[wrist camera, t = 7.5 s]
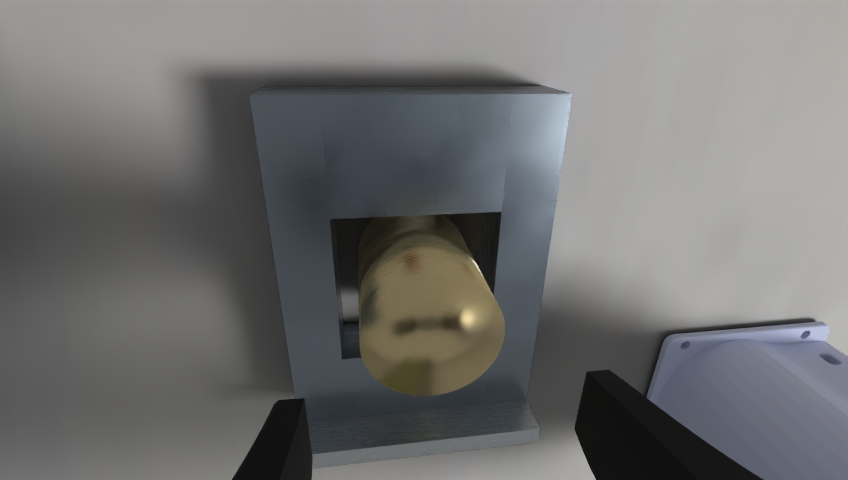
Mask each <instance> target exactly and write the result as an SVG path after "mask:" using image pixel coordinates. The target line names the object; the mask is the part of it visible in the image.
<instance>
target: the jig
mask: <svg viewBox="0 0 848 480" xmlns="http://www.w3.org/2000/svg"><path fill="white" fill-rule="evenodd" d="M249 98H250V105H251V111H252V118H253V124H254V131H255V138H256V144H257V151H258V157H259V164H260V171H261V177H262V184H263V190H264V197H265V203H266V210H267V217H268V223H269V230H270V236H271V243H272V250H273V256H274V263H275V269H276V276H277V283H278V289H279V296H280V302H281V309H282V315H283V322H284V329H285V335H286V342H287V348H288V355H289V362H290V368H291V375H292V381H293V388H294V395H295V399H298V398H304V399H305V406H306V413H307V420H308V428H309V435H310V442H311V449H312V456H313V460H312V469H313V468H321V467H330V466H338V465H347V464H355V463H364V462H372V461H381V460H390V459H398V458H407V457H415V456H424V455H432V454H441V453H449V452H458V451H467V450H475V449H484V448H492V447H501V446H509V445H518V444H526V443H535V442H538V438H539V432H540V427H539V425H538V423H537V421H536V419H535V417H534V415H533V412H532V410H531V408H530V406H529V404H528V402H527V394H528V388H529V381H530V374H531V368H532V361H533V354H534V347H535V341H536V334H537V327H538V321H539V314H540V307H541V301H542V294H543V287H544V280H545V274H546V267H547V260H548V254H549V247H550V240H551V233H552V227H553V220H554V213H555V207H556V200H557V193H558V187H559V180H560V173H561V166H562V160H563V153H564V146H565V140H566V133H567V126H568V120H569V113H570V106H571V99H572V93H568V92H564V91H561V90H557V89H554V88H550V87H547V86H291V87H263V88H261V89H259V90H258V91H256V92H254V93H253V94H251V95H249ZM462 213H482V222H481V235H480V249H479V263H478V267H479V269H480V271H481V273H482V275H483V277H484V279H485V281H486V283H487V284H488V286H489V288H490V290H491V292H492V294H493V296H494V298H495V300H496V302H497V303H498V305H499V307H500V309H501V311H502V314H503V317H504V323H505V336H504V341H503V345H502V348H501V350H500V352H499V354H498V356H497V358H496V359H495V361H494V362H493V364H492V365H491V366H490V367H489V368H488V370H487V371H485V372H484V373H483V374H482V375H481V376H480V377H479V378H477V379H476V380H475V381H473V382H471V383H470V384H468V385H466V386H464V387H462V388H460V389H458V390H455V391H452V392H449V393H445V394H440V395H434V396H414V395H407V394H403V393H399V392H397V391H394V390H391V389H389V388H388V387H386V386H384V385H383V384H381V383H380V382H378V381H377V380H376V379H375V378H374V377H373V376H372V375H371V374H370V372H369V371H368V370H367V368H366V366H365V364H364V363H363V360H362V357H361V353H360V342H359V322H355V323H343V313H342V301H341V289H340V276H339V264H338V252H337V239H336V227H335V219H346V218H369V217H393V216H416V215H439V214H462Z"/></svg>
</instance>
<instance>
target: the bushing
mask: <svg viewBox="0 0 848 480" xmlns="http://www.w3.org/2000/svg"><path fill="white" fill-rule="evenodd" d="M358 278H359V342H360V353H361V357H362V360H363V363H364V364H365V366H366V368H367V370H368V371H369V372H370V374H371V375H372V376H373V377H374V378H375V379H376V380H377V381H378V382H380V383H381V384H383V385H384V386H386V387H388V388H389V389H391V390H394V391H397V392H399V393H403V394H407V395H414V396H434V395H440V394H445V393H449V392H452V391H455V390H458V389H460V388H462V387H464V386H466V385H468V384H470V383H471V382H473V381H475V380H476V379H477V378H479V377H480V376H481V375H482V374H483V373H484V372H485V371H487V370H488V368H489V367H490V366H491V365H492V364H493V362H494V361H495V359H496V358H497V356H498V354H499V352H500V350H501V348H502V345H503V341H504V336H505V323H504V317H503V314H502V311H501V309H500V307H499V305H498V303H497V302H496V300H495V298H494V296H493V294H492V292H491V290H490V288H489V286H488V284H487V283H486V281H485V279H484V277H483V275H482V273H481V271H480V269H479V267H478V265H477V264H476V262H475V260H474V258H473V256H472V254H471V252H470V250H469V248H468V246H467V245H466V243H465V241H464V239H463V237H462V235H461V233H460V231H459V229H458V228H457V226H456V224H455V222H454V221H453V220H452V219H451V217H450V216H449V215H448V214H439V215H416V216H393V217H373V218H372V219H371V220H370V222H369V223H368V224H367V225H366V227H365V228H364V230H363V232H362V234H361V237H360V240H359V246H358Z"/></svg>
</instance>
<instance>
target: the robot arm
mask: <svg viewBox="0 0 848 480" xmlns="http://www.w3.org/2000/svg"><path fill="white" fill-rule="evenodd" d="M829 332H830V327H829V326H828V325H826V324H825V323H823V322H810V323H798V324H786V325H775V326H763V327H752V328H740V329H728V330H717V331H705V332H694V333H682V334H673V335H670V336H668V337H667V338H666V339H665V340H664V342H663V344H662V348H661V351H660V354H659V358H658V361H657V364H656V367H655V371H654V374H653V377H652V381H651V384H650V387H649V391H648V394H647V397H645V396H643V395H642V394H641V393H639V392H638V391H637V390H636V389H634V388H633V387H632V386H630V385H629V384H628V383H626V382H625V381H624V380H622V379H621V378H620V377H618V376H617V375H615V374H614V373H613V372H611V371H610V370H601V371H590V372H587V373H586V378H585V382H584V387H583V392H582V396H581V401H580V405H579V410H578V414H577V419H576V424H575V428H574V429H575V431H576V434H577V437H578V439H579V442H580V444H581V447H582V450H583V452H584V454H585V457H586V459H587V461H588V464H589V466H590V468H591V470H592V472H593V474H594V476H595V478H596V480H848V356H846V355H845V354H843V353H842V352H840V351H839V350H837V349H836V348H834V347H833V346H831V345H830V344H828V343H827V342H825V340H826V338H827V336H828V334H829ZM312 460H313V456H312V449H311V442H310V435H309V428H308V420H307V413H306V406H305V399H304V398H298V399H288V400H278V401H277V402H276V403H275V404H274V406H273V408H272V410H271V412H270V414H269V416H268V418H267V420H266V422H265V424H264V425H263V427H262V429H261V431H260V433H259V435H258V437H257V438H256V440H255V442H254V444H253V445H252V447H251V449H250V451H249V452H248V454H247V456H246V457H245V459H244V461H243V462H242V464H241V466H240V467H239V469H238V471H237V472H236V474H235V476H234V477H233V479H232V480H311V478H312Z"/></svg>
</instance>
